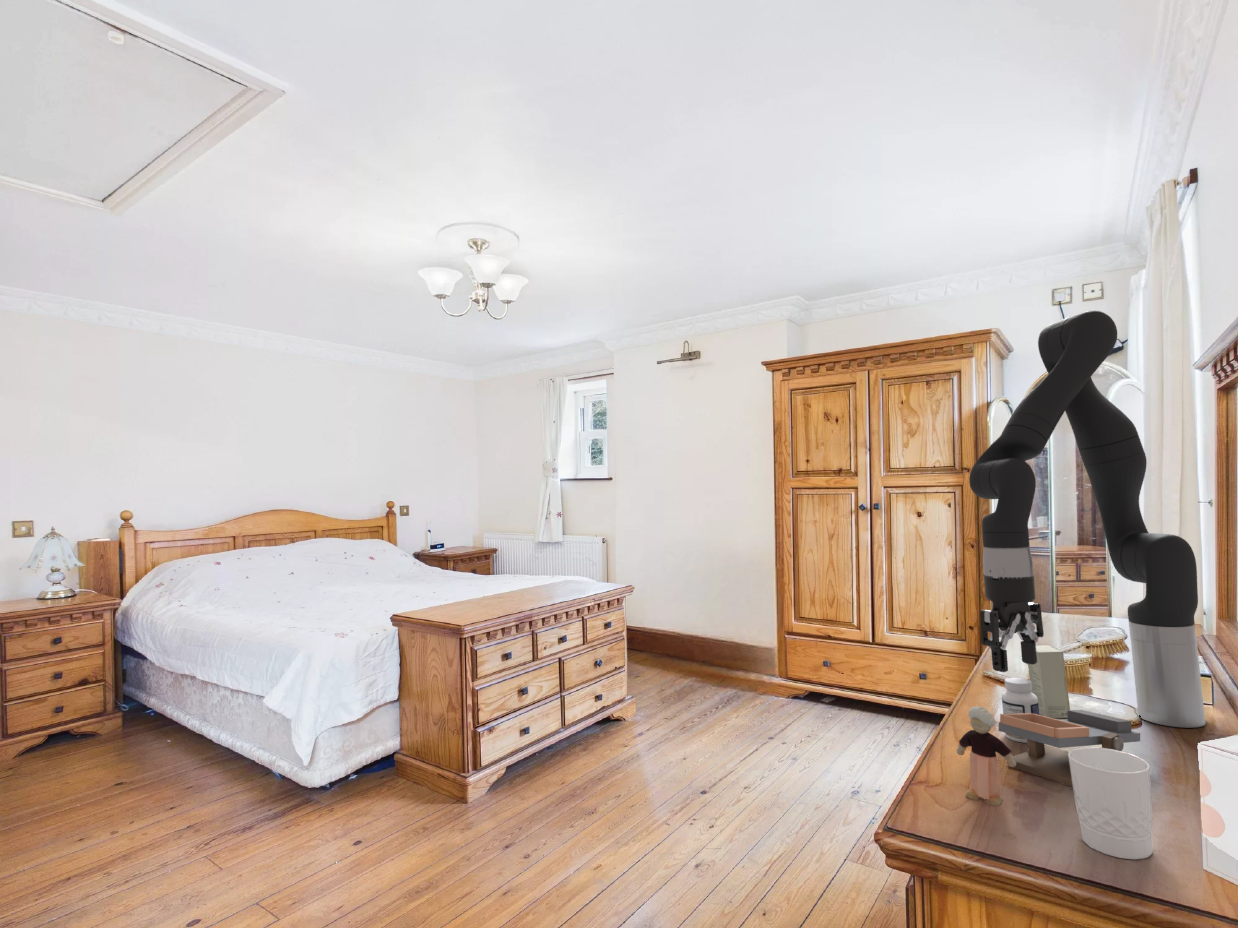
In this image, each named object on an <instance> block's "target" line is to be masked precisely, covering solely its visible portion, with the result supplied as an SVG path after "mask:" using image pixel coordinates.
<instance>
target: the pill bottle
mask: <svg viewBox="0 0 1238 928" xmlns="http://www.w3.org/2000/svg"><path fill="white" fill-rule="evenodd" d="M1004 687H1005V689H1006V690H1004V691H1003V692H1002V694H1001V703H1002V704H1001V705H1002V714H1016V713H1032V714H1038V715H1041V714H1040V713H1039V704H1038V698H1037V696H1036V695H1035V694H1033V693H1031V691H1032V683H1031V681H1030V679H1028V678H1023V677H1006V678H1005V679H1004ZM1004 735H1005V737H1007V739H1009V740H1012V741H1014V742H1017V743H1022V744H1023V743H1024V744H1027V739H1026V738H1022V737H1019V736H1015V735H1012V734H1008V733H1004Z"/></svg>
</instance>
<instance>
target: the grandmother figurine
mask: <svg viewBox="0 0 1238 928" xmlns="http://www.w3.org/2000/svg"><path fill="white" fill-rule="evenodd" d="M967 716H968V718H969V720H970V726H971V728H972V729H971V730H968V731H967V732H966V733H964V735H963V736H962V737H961V738H960V739H959V740H958V744H957V748H956V753H957V755H958V756H964V755H965V751H966V750H967V748H968V747H971V751H970V754H969V772H970V773H969V774H970V775H969V777H970V778H969V781H970V783H969V784H970V789H968V790H966V792H965V797H966V798H968V799H970V800H980V799H983V800H984V802H985V803H986V804H987V805H991V806H994V807H995V806H996V807H997V806H1001V805H1002V802H1003V799H1002V797H1001V773H1000V766H999V760H998V756H997V754H999V755H1000V756H1001V757H1003V758H1004V759H1005V761H1007V762H1006V763H1007V766H1008V765H1009V766H1008V767H1011V768H1013V767H1015V766H1016V762H1015V761H1014V759H1013V757H1014V756H1013V754H1012V753H1011V752H1012V750H1011V749H1010V747H1008V746H1007V744H1005V743H1004V742H1003V741H1002V740H1001V739H999V737H997V736H995V735H994V734H992V733H991V732H990V731H991V730H992V728H993V727H994V726H996V724H997V721H996V720H995V717H994V716H993V714H992V713H991V712H990V711H989V710H987V708H985V707H983V706H972V707H970V708H969V710H968V715H967Z"/></svg>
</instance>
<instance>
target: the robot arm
mask: <svg viewBox="0 0 1238 928" xmlns="http://www.w3.org/2000/svg"><path fill="white" fill-rule="evenodd" d="M1117 340H1118V328H1117V325H1116V323H1115V321H1114V320H1113V318H1112V317H1111V316H1110V315H1108V314H1107V313H1106V312H1103V311H1101V310H1094V309H1093V310H1087V311H1083V312H1079V313H1076V314H1073V315H1070V316H1069V317H1066V318H1062V319H1060V320H1058V321H1055V322H1052V323H1049V324H1048V325H1046V326H1045V327H1043V329H1041V331H1040V333H1039V335H1038V339H1037V346H1038V352H1039V355H1040V358H1041V360H1042V363H1043V365H1044V368H1045V369H1046V372H1047V375H1046V376H1045V377H1044V378H1043V379H1042V380H1041V381H1040V382H1039V383H1038V384H1037V385H1036V386H1035V387H1034V388H1033V389H1032V390H1031V391H1030V392H1028V394H1027V395H1026V396H1025V397H1024V398H1023V399H1022V400H1021V401H1020V403H1019V404H1018V405H1017V406H1016V408H1015V410H1014V411H1013V412H1012V414H1011V416H1010V418H1009V420H1008V421H1007V423H1006V425H1005V427H1004V428H1003V429H1002V430H1003V431H1002V432H1001V434H1000V435H999V436H998V438H997V439H996V440H995V441H993V442H992V444H990V446H989V447H987V449H986V450H985V451H984V452H983V453H982V454H981V456H979V458H978V459H977V460H976V461H975V463H974V464H973V466H972V468H971V470H970V473H969V478H968V479H969V480H968V483H969V487H970V490H971V491H972V493H973V494H974V495H975V496H977V497H979V498H981V499H985V500H997V505H996V508H995V511H994V512H991V513H988V514H985V515H984V516H983V518H982V519H981V520H982V521H981V531H982V546H983V547H982V549H983V551H982V569H983V570H982V571H983V582H984V597H985V598H986V600H988V601H991V603H992V609H991V610H990V609H988V610H987V609H981V610H980V613H979V618H980V622H979V623H980V642H981V645H982V646H985V647H989V648H990V650H991V652H990V653H991V661H992V663H991V664H992V669H993V671H995V672H1001V673H1007V672H1008V671H1009V665H1008V664H1009V663H1008V651H1007V649H1006V648H1007V646H1008V643H1009V640H1011V639H1013V637H1014V635H1015V634H1017V635H1018V636H1019V638H1020V652H1021V654H1020V655H1021V661H1022V662H1023V663H1024V664H1027V665H1028V664H1032V665H1033V664H1036V663H1037V655H1036V646H1037V644H1036V643H1038V641H1039V638H1043V637H1044V626H1043V625H1044V624H1043V617H1042V616H1043V614H1042V610H1041V609H1042V607H1041V604H1040V603H1036V602H1034V601H1036V587H1035V575H1034V573H1035V572H1034V563H1033V562H1034V561H1033V557H1032V552H1031V547H1030V537H1029V536H1030V535H1029V534H1030V533H1029V532H1030V531H1029V519H1030V516H1031V512H1032V508H1033V502H1034V498H1035V495H1036V494H1035V492H1036V487H1037V485H1036V484H1037V482H1036V476H1035V475H1036V474H1035V472H1034V470H1033V469H1032V467H1031V466H1030V464H1029V463H1028V462H1027V461H1029V460H1032V459H1034V458H1037V457H1038V456H1039V455H1040V454H1041V453H1042V452H1043V450H1044V448H1045V447H1046V445H1047V443H1048V441H1049V440H1050V437H1051V436H1052V434H1053V432H1054V431H1055V429H1056V427H1057V425H1058V423H1059V421H1060V420H1061V419H1062V416H1064V413H1065V414H1066V417H1067V419H1068V421H1069V425H1070V427H1071V430H1072V432H1073V436H1074V439H1075V443H1076V445H1077V448H1078V452H1079V454H1080V458H1081V460H1082V463H1083V467H1084V468H1085V470H1086V473H1087V476H1088V478H1089V481H1090V485H1091V488H1092V491H1093V494H1094V497H1095V500H1096V503H1097V507H1098V510H1099V513H1100V517H1101V522H1102V527H1103V531H1104V536H1105V540H1106V544H1107V549H1108V553H1109V557H1110V561H1111V563H1112V565H1113V568H1114V569H1115V570H1116V571H1117V573H1118V575H1120V576H1121V577H1123V578H1124V579H1126V580H1128V581H1131V582H1136V583H1142V584H1145V595H1144V596H1145V597H1144V598H1143V599H1142V600H1141V601H1138V602H1137V601H1136V602H1134V603H1131V604H1129V605H1128V607H1127V618H1128V629H1129V637H1130V639H1129V640H1130V649H1131V657H1132V658H1131V659H1132V665H1133V667H1132V669H1133V676H1134V687H1135V695H1136V704H1137V705H1136V707H1137V714H1139V715H1140V716H1141V717H1140V718H1141V719H1142V720H1145V721H1146V722H1150V723H1152V724H1156V725H1163V726H1167V727H1173V728H1185V729H1186V728H1188V729H1189V728H1201V727H1204V726H1205V725H1206V716H1205V707H1204V697H1203V695H1204V694H1203V688H1202V687H1203V685H1202V680H1201V679H1202V677H1201V676H1202V675H1201V668H1200V661H1199V658H1200V657H1199V651H1198V642H1197V634H1196V632H1197V631H1196V626H1195V625H1196V624H1195V623H1196V622H1195V615H1196V612H1197V609H1198V605H1199V592H1198V591H1199V590H1198V570H1197V560H1196V557H1195V553H1194V551H1193V548H1192V546H1191V545H1190V544H1189V542H1188V541H1187V540H1185V538H1183V537H1181V536H1179V535H1175V534H1169V533H1168V534H1167V533H1151V532H1149V531H1148V529H1147V527H1146V526H1147V525H1146V524H1145V521H1144V519H1143V515H1142V513H1141V508H1140V495H1141V490H1142V487H1143V484H1144V480H1145V476H1146V472H1147V470H1146V469H1147V463H1148V462H1147V456H1146V453H1145V450H1144V447H1143V444H1142V441H1141V438H1140V436H1139V432H1138V430H1137V427H1136V426H1135V423H1133V421H1132V420H1131V419H1130V418H1129V417H1128V416H1127V415H1126V414H1125V413H1124V412H1123V411H1122V410H1120V409H1119V408H1118V407H1117V406H1116V405H1115V404H1114V403H1112V402H1111V401H1110V400H1109V399H1107V398H1106V397H1105V396H1104V395H1103V394H1102V393H1101V391H1100V390H1099V389H1098V388H1097V386H1096V385H1095V383H1094V381H1093V379H1092V376H1093V375H1094V374H1095V372H1096V371H1097V369H1099V367H1101V365H1102V364H1103V363H1104V362H1105V360H1107V358H1108V357H1109V355H1110V354H1111V353H1112V352H1113V350H1114V348H1115V345H1116V343H1117ZM989 633H990V635H989Z"/></svg>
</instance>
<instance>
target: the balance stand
mask: <svg viewBox="0 0 1238 928" xmlns="http://www.w3.org/2000/svg"><path fill="white" fill-rule="evenodd" d="M1037 715H1038V714H1037ZM1040 715H1041V714H1040ZM1041 716H1043V715H1041ZM1101 743H1102V745H1101V748H1107V749H1113V750H1118V751H1122V752H1123V749H1124V746H1125V745H1124V744H1125V743H1123V740H1122V739H1121V738H1119V735H1118V734H1114V733H1110V732H1109V733H1107V734H1104V735H1102V736H1101ZM1026 744H1027V750H1026V751H1024V752H1021V753H1019V754H1016V755H1014V756H1013V759H1014V761H1015V762H1016V766H1015V767H1012V769H1013V768H1014V769H1015V770H1019V771H1020V770H1021V771H1023V772H1026V773H1029V774H1032V775H1035V776H1039V777H1042V778H1044V779H1048V780H1051V781H1053V782H1056V783H1060V784H1062V785H1066V786H1069V787H1072V788H1073V785H1072V778H1071V771H1070V765H1069V758H1068V752H1069V751H1066V750H1063V749H1062V748H1057V747H1054V746H1050V745H1047V744H1043V743H1040V742H1036V741H1033V740H1029V739H1027V743H1026ZM1007 766H1008V767H1010V766H1009V765H1008V764H1007Z"/></svg>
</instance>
